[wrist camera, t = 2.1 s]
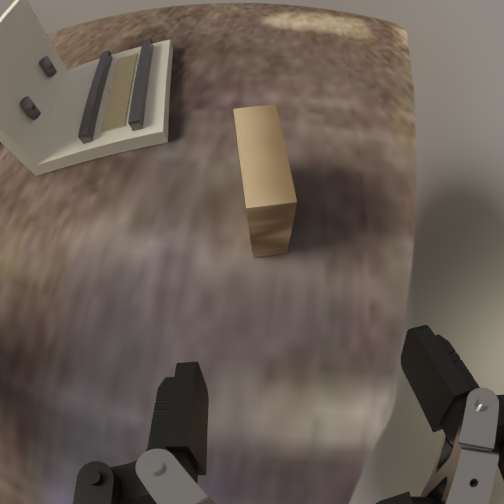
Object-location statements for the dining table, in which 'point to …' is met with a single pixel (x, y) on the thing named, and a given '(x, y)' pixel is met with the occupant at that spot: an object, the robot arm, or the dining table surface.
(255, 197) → the wooden block
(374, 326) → the dining table surface
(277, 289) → the dining table surface
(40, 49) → the l-shaped angle bracket
